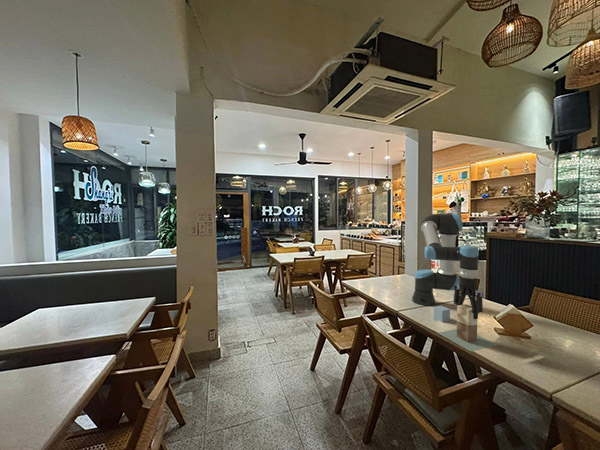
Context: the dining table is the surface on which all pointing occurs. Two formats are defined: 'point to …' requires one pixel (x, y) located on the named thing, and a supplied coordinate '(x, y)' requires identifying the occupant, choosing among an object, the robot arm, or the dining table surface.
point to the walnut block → (466, 332)
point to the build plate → (470, 346)
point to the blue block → (441, 314)
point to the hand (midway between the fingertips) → (466, 321)
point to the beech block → (464, 314)
